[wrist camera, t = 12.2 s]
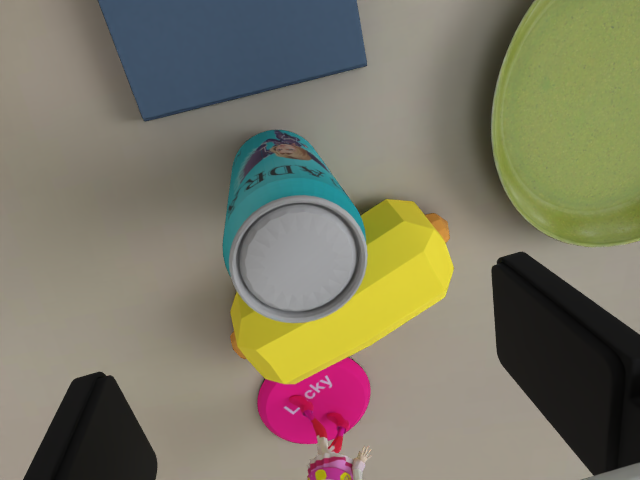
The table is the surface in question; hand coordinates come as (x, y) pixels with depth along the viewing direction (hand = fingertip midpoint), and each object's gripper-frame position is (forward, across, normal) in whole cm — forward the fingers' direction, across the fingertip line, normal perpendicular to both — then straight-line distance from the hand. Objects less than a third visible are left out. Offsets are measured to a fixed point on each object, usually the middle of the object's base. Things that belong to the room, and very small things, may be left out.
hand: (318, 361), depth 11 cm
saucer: (+21, -24, +2) cm, 32 cm away
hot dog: (+21, -2, +10) cm, 23 cm away
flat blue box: (+21, 0, -8) cm, 23 cm away
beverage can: (+21, 0, +1) cm, 21 cm away
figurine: (+21, +2, +21) cm, 29 cm away
